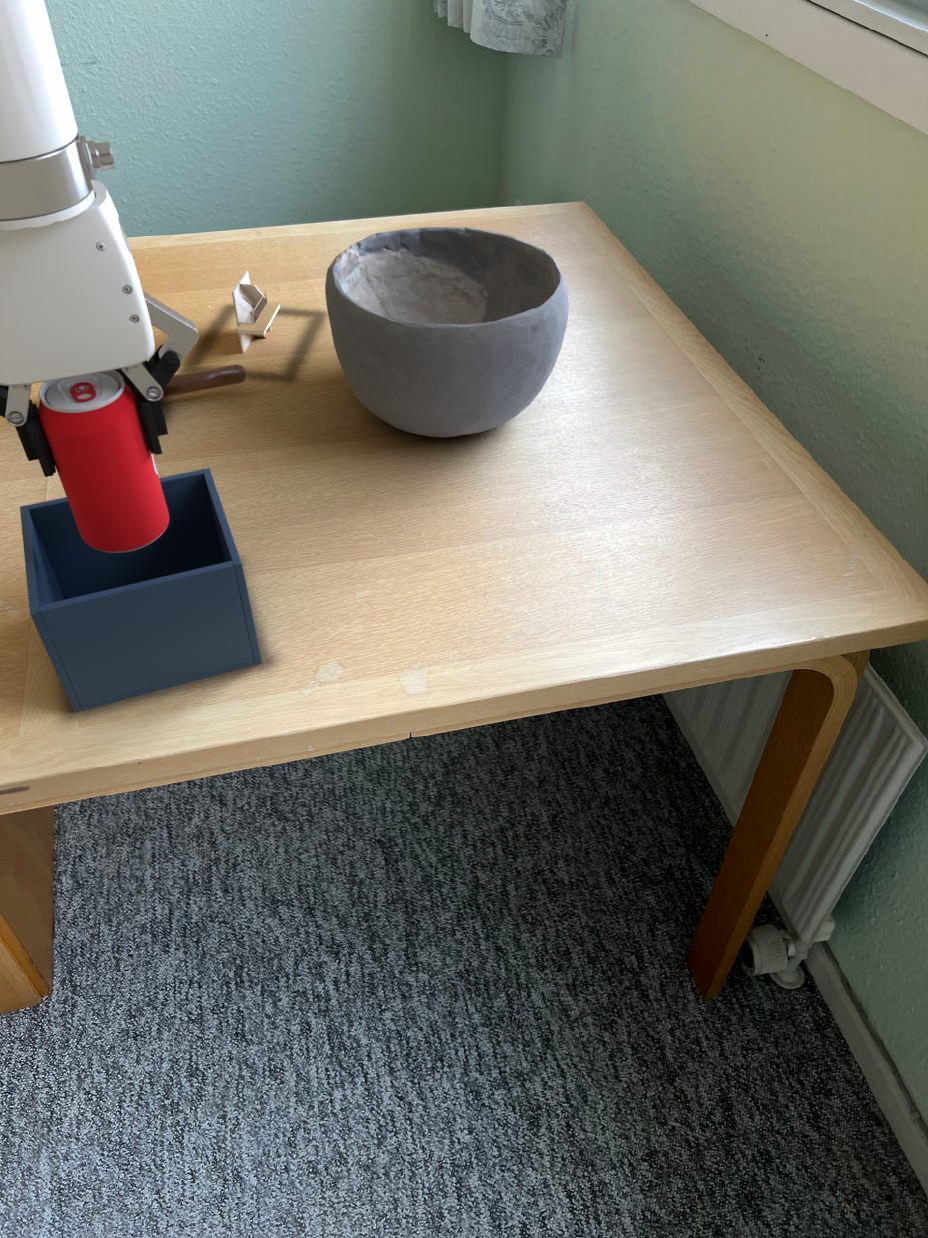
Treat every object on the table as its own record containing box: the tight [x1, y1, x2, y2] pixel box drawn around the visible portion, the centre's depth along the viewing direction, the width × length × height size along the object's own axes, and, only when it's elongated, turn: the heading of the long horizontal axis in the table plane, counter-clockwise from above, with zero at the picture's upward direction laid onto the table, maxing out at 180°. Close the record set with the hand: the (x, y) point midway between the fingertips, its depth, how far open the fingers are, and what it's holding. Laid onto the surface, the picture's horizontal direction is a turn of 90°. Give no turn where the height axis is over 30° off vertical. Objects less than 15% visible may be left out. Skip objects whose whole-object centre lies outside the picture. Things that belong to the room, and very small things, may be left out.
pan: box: [115, 364, 248, 403], centre depth 97 cm, size 20×11×3 cm, turn 112°
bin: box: [19, 467, 263, 714], centre depth 71 cm, size 14×12×11 cm
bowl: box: [324, 226, 570, 438], centre depth 94 cm, size 24×24×15 cm
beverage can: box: [38, 370, 169, 553], centre depth 63 cm, size 6×6×12 cm
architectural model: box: [231, 270, 281, 354], centre depth 105 cm, size 3×7×7 cm, turn 173°
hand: (102, 452), depth 62 cm, fingers closed on beverage can, 6 cm apart
